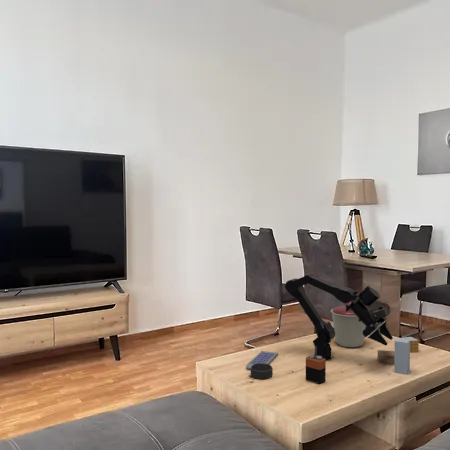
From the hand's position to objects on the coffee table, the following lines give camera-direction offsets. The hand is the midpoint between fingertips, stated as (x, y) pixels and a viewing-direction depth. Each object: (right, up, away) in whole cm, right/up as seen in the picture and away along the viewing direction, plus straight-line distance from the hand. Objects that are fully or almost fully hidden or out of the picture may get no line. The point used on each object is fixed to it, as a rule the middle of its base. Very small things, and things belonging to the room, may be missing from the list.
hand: (389, 341), depth 196 cm
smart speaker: (-54, -13, -5) cm, 55 cm away
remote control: (-52, -12, +11) cm, 55 cm away
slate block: (+4, -12, -2) cm, 13 cm away
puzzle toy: (+18, -10, +24) cm, 32 cm away
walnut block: (+2, -11, +10) cm, 15 cm away
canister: (-7, -10, +35) cm, 37 cm away
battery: (-33, -13, -11) cm, 37 cm away
